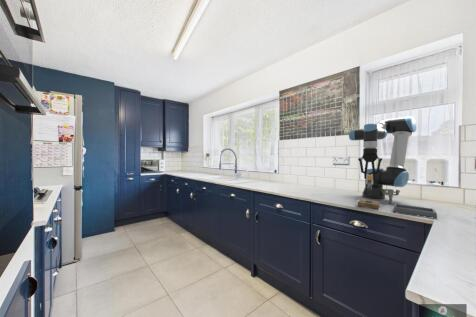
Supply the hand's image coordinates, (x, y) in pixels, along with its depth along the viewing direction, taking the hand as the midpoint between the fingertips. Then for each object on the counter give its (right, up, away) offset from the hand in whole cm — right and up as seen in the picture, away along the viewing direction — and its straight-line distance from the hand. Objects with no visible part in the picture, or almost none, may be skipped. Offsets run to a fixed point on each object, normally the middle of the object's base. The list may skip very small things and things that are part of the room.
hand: (369, 184), depth 130 cm
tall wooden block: (0, -4, 0) cm, 4 cm away
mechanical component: (+20, -15, +8) cm, 26 cm away
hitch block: (-1, -15, 0) cm, 15 cm away
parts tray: (+17, -15, -13) cm, 26 cm away
